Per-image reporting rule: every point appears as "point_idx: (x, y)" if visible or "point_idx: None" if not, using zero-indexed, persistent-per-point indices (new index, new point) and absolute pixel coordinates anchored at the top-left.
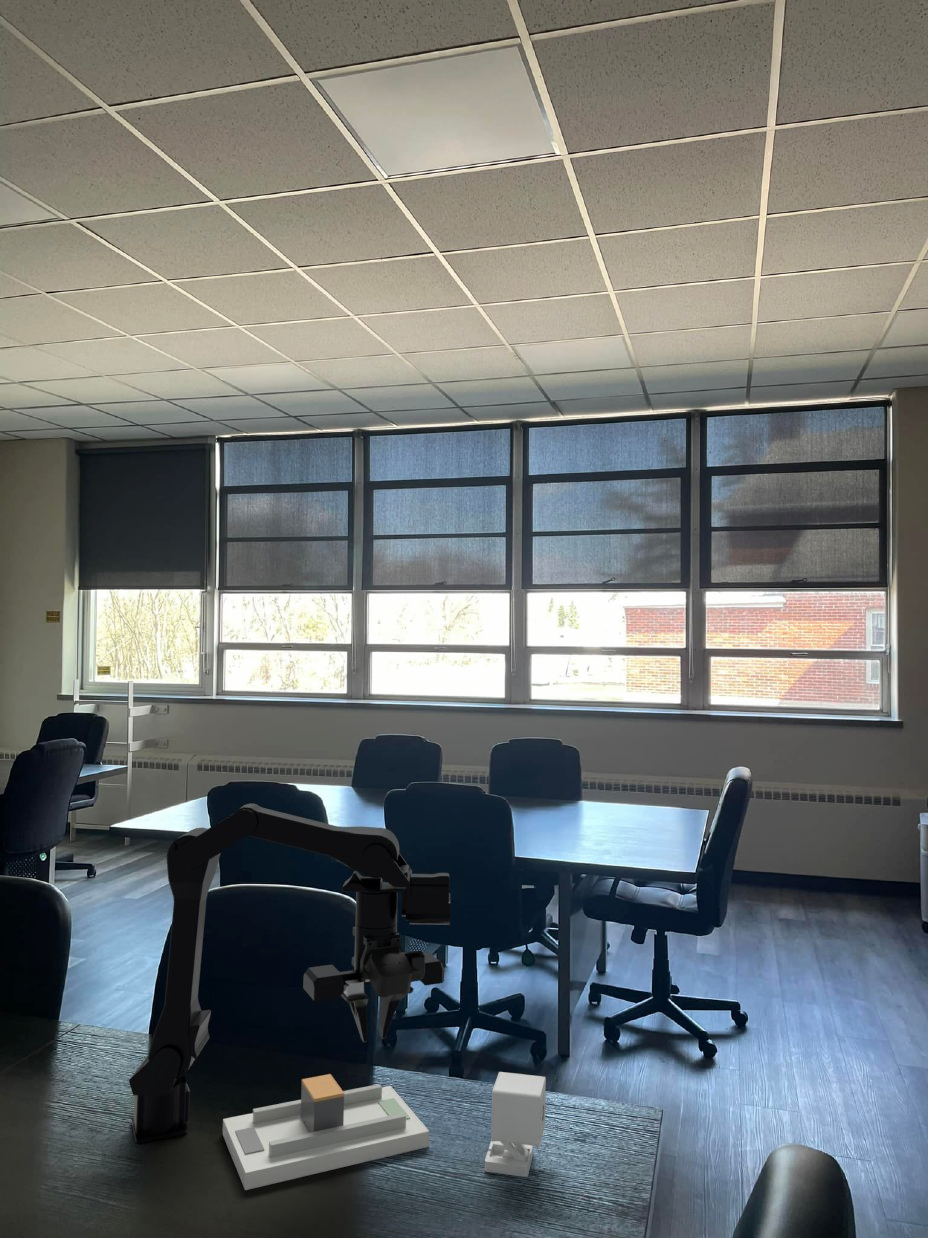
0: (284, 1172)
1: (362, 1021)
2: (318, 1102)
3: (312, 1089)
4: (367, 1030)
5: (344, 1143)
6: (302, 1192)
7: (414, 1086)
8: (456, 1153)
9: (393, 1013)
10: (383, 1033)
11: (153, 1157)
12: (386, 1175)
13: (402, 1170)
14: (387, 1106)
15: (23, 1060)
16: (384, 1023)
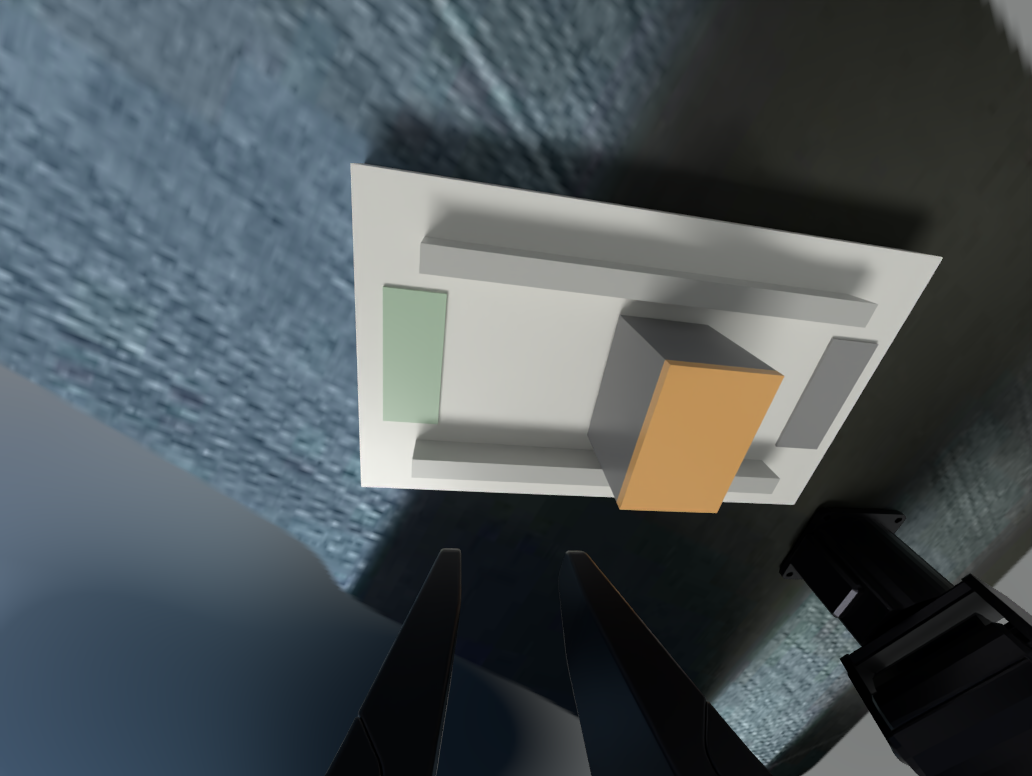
0: (829, 238)
1: (678, 692)
2: (759, 368)
3: (740, 441)
4: (594, 613)
5: (650, 254)
6: (815, 151)
7: (275, 493)
8: (278, 56)
9: (357, 741)
10: (459, 576)
11: (910, 463)
12: (574, 79)
13: (513, 74)
14: (424, 385)
15: (828, 739)
16: (454, 647)
